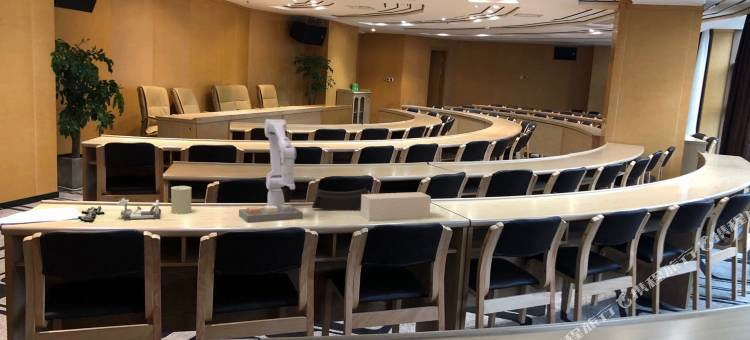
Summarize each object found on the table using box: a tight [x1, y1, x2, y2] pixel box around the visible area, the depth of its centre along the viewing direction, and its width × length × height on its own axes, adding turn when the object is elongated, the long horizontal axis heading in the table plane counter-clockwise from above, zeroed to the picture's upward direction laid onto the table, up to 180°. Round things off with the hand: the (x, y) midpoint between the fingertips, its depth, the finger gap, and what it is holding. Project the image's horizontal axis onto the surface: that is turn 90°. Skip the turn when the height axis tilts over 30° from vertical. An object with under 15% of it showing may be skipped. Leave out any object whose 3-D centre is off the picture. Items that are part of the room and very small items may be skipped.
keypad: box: [238, 206, 303, 223], centre depth 281 cm, size 14×26×3 cm, turn 118°
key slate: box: [280, 204, 295, 211], centre depth 285 cm, size 5×5×3 cm
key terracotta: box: [246, 206, 261, 214], centre depth 277 cm, size 5×5×3 cm
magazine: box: [311, 188, 371, 212], centre depth 302 cm, size 17×3×30 cm
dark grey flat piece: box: [77, 205, 105, 224], centre depth 271 cm, size 28×2×10 cm
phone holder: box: [117, 197, 162, 221], centre depth 271 cm, size 18×10×12 cm
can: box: [170, 185, 192, 215], centre depth 284 cm, size 9×9×12 cm
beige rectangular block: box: [360, 191, 432, 222], centre depth 293 cm, size 32×11×11 cm, turn 113°
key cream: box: [263, 205, 278, 213], centre depth 281 cm, size 5×5×3 cm
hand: (287, 201), depth 284 cm, fingers closed
